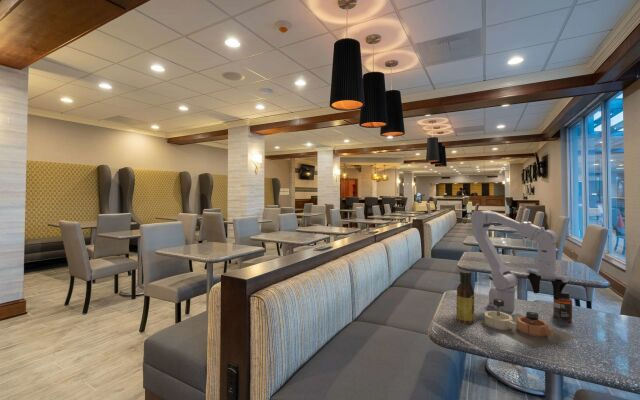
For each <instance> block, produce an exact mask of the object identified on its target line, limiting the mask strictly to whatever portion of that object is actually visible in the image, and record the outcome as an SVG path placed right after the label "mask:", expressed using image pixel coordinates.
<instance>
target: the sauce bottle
mask: <svg viewBox="0 0 640 400" xmlns="http://www.w3.org/2000/svg"><path fill="white" fill-rule="evenodd" d="M459 275H460V278H459V279H460V280H459V282H460V283H459V284H458V286H457V288H456V321H457V322H459V323H461V324H465V325H471V324H472V325H473V324H474V322H475V321H474V320H475V291H474V288H473V285H472V281H471V280H472V272H471V271H469V270H460V271H459Z"/></svg>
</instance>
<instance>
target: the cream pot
mask: <svg viewBox="0 0 640 400" xmlns="http://www.w3.org/2000/svg"><path fill="white" fill-rule="evenodd" d="M483 315H484V319H483V320H485V324H486V325H488V326H490V327H492V328H496V329H501V330H509V329H513V330H516V323H514V322H513V319H512V316H511V315H512V314H508V313H506V312H504V311H500V316H497V310H488V311H487V310H486V311H484V314H483ZM486 325H485V326H486ZM488 326H487V327H488ZM490 327H489V328H490ZM492 328H491V329H492Z"/></svg>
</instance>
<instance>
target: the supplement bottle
mask: <svg viewBox="0 0 640 400" xmlns="http://www.w3.org/2000/svg"><path fill="white" fill-rule="evenodd" d="M552 306H553V308H552V312H553V313H552V317H553V318H555V319H557V320H559V321H564V322H567V323H570V322H572V319H573V299H572V298H571V297H570V292H569V291H566V290H562V292H561V295H560V298H559V299H556V300H555V299H554V297H553V304H552Z"/></svg>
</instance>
